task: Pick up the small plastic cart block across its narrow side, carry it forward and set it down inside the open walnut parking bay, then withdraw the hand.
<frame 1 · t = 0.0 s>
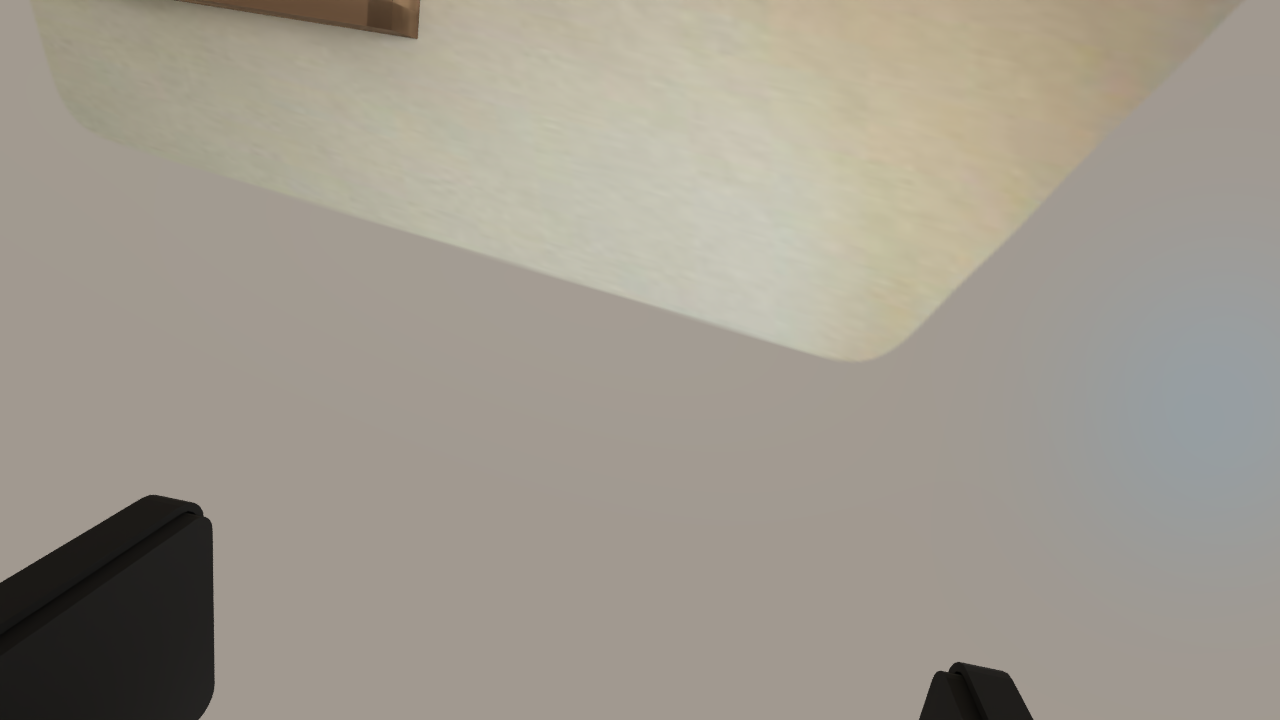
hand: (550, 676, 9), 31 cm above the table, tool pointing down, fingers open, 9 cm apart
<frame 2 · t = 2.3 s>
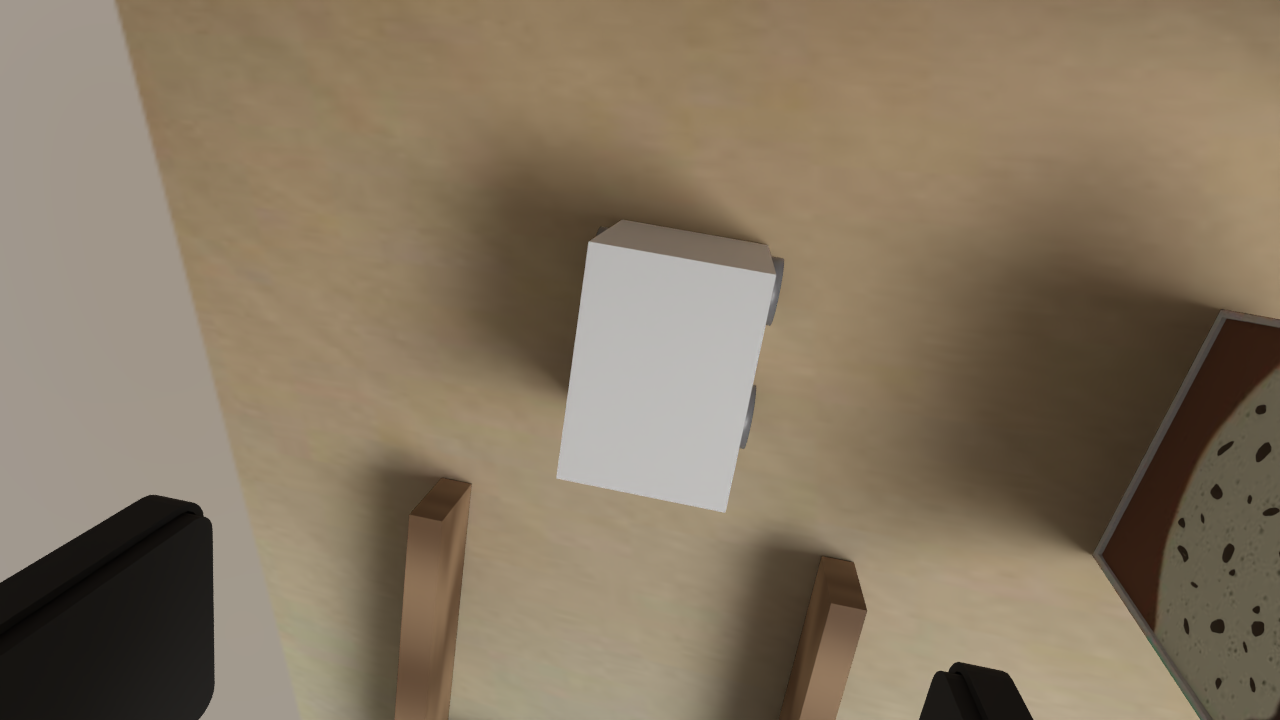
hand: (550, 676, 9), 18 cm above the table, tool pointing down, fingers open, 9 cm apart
bay: (620, 649, 30), on the table
food container: (1239, 463, 25), on the table
cart: (677, 330, 26), on the table
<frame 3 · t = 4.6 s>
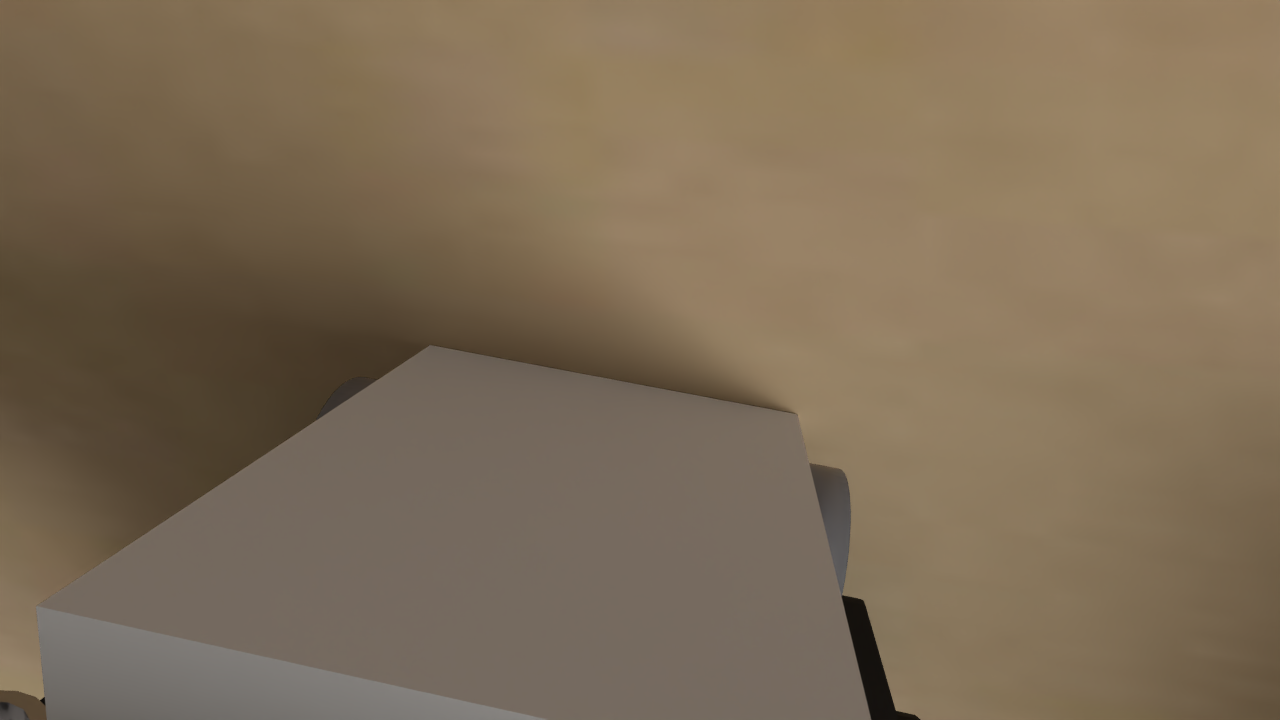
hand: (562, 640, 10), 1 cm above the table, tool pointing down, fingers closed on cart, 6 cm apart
cart: (576, 602, 11), on the table, touching gripper
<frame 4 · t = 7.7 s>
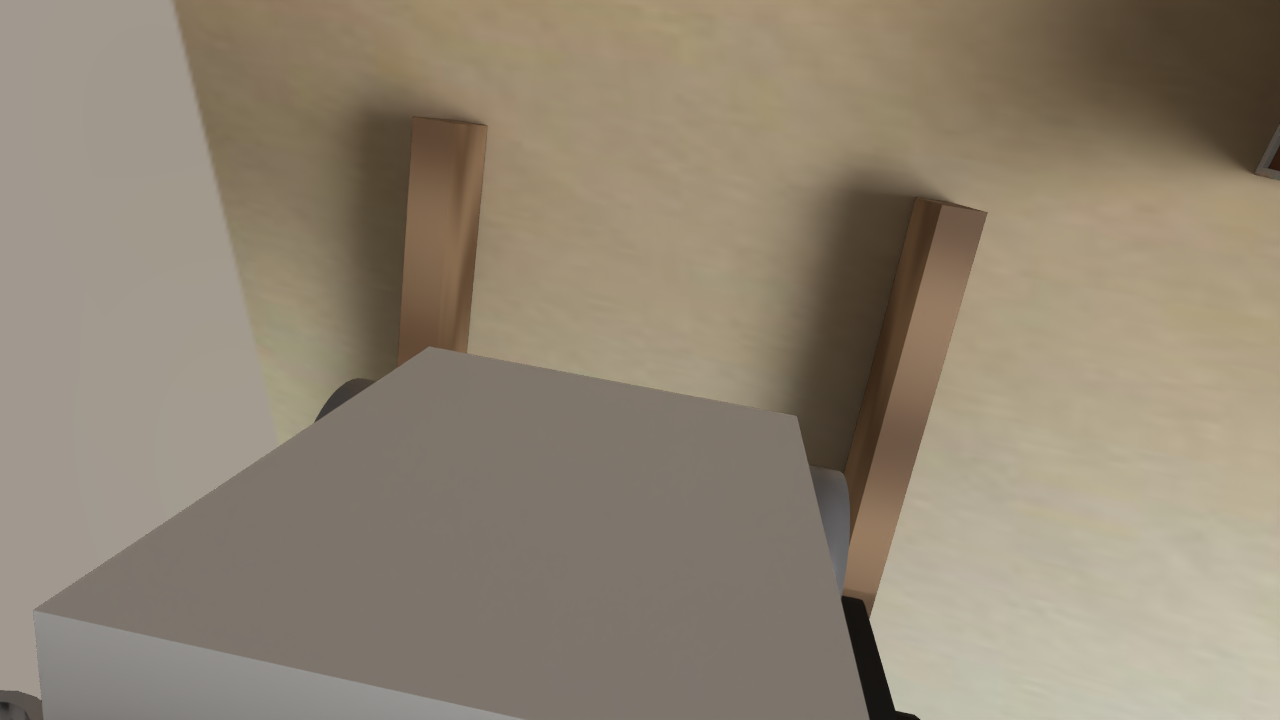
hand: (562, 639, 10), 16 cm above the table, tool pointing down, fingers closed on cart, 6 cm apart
bay: (665, 342, 25), on the table
cart: (575, 603, 11), point 15 cm above the table, touching gripper
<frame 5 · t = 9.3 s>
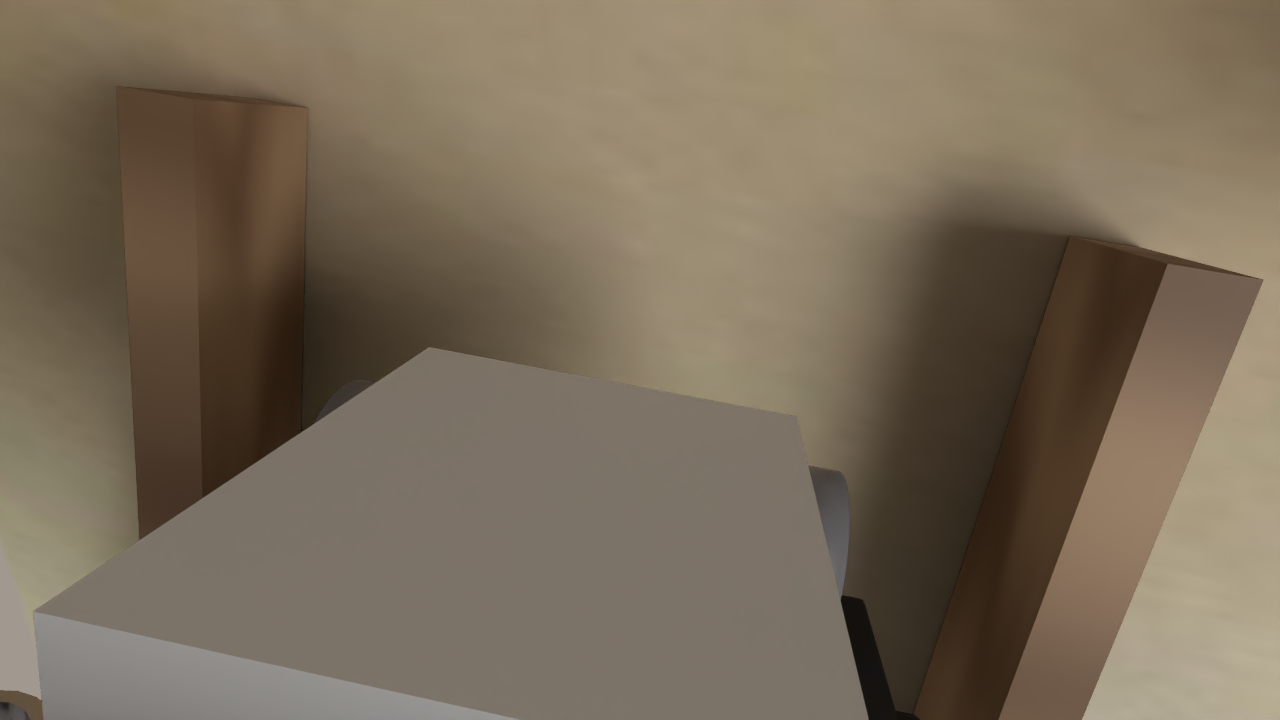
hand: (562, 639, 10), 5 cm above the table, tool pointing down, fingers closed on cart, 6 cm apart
bay: (623, 475, 15), on the table
cart: (575, 604, 11), point 4 cm above the table, touching gripper
when the fingers open (2 cm above the table, at t = 10.8 s): cart drops 2 cm, on the table.
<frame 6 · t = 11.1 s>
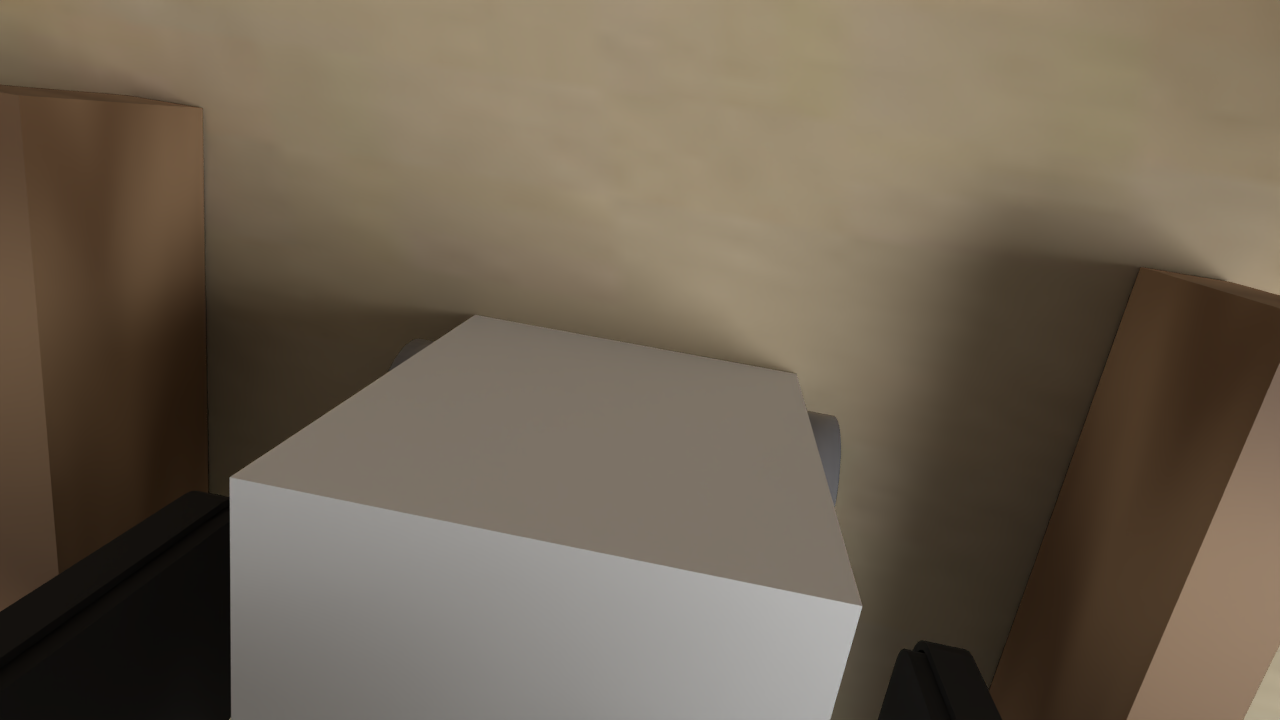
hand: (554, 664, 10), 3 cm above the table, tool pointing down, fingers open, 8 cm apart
bay: (593, 549, 12), on the table
cart: (602, 541, 12), on the table
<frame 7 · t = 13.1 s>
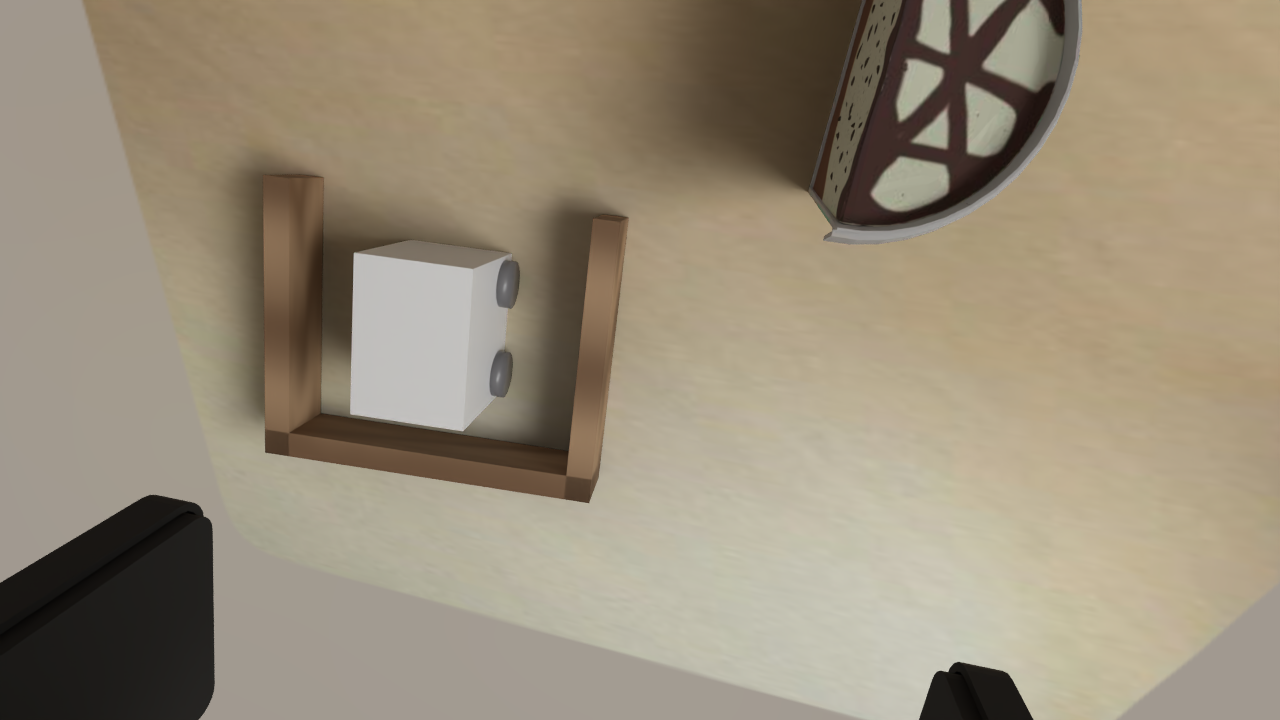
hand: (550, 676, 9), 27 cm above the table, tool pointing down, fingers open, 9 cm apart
bay: (454, 319, 37), on the table
food container: (906, 101, 33), on the table
cart: (457, 316, 37), on the table
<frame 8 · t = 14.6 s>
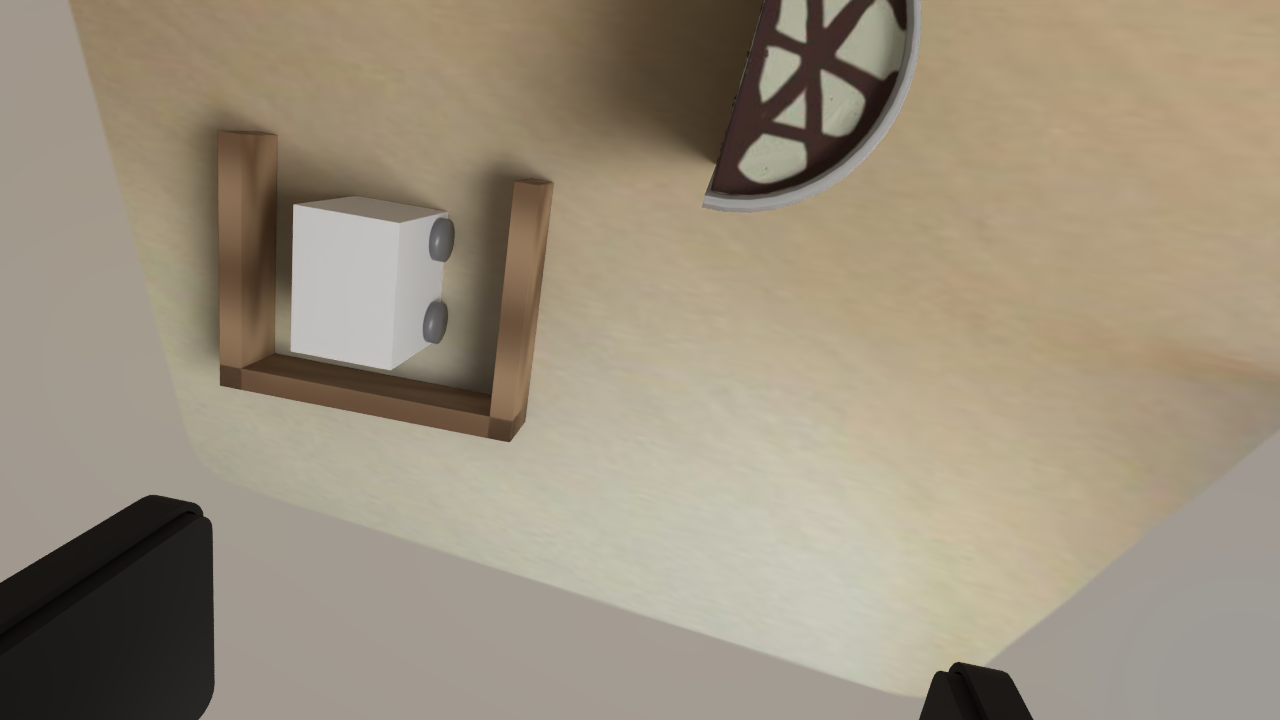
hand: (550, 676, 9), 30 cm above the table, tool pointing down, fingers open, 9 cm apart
bay: (395, 270, 40), on the table
food container: (807, 83, 35), on the table
cart: (398, 268, 40), on the table
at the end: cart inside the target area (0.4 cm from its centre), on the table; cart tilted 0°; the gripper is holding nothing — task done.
